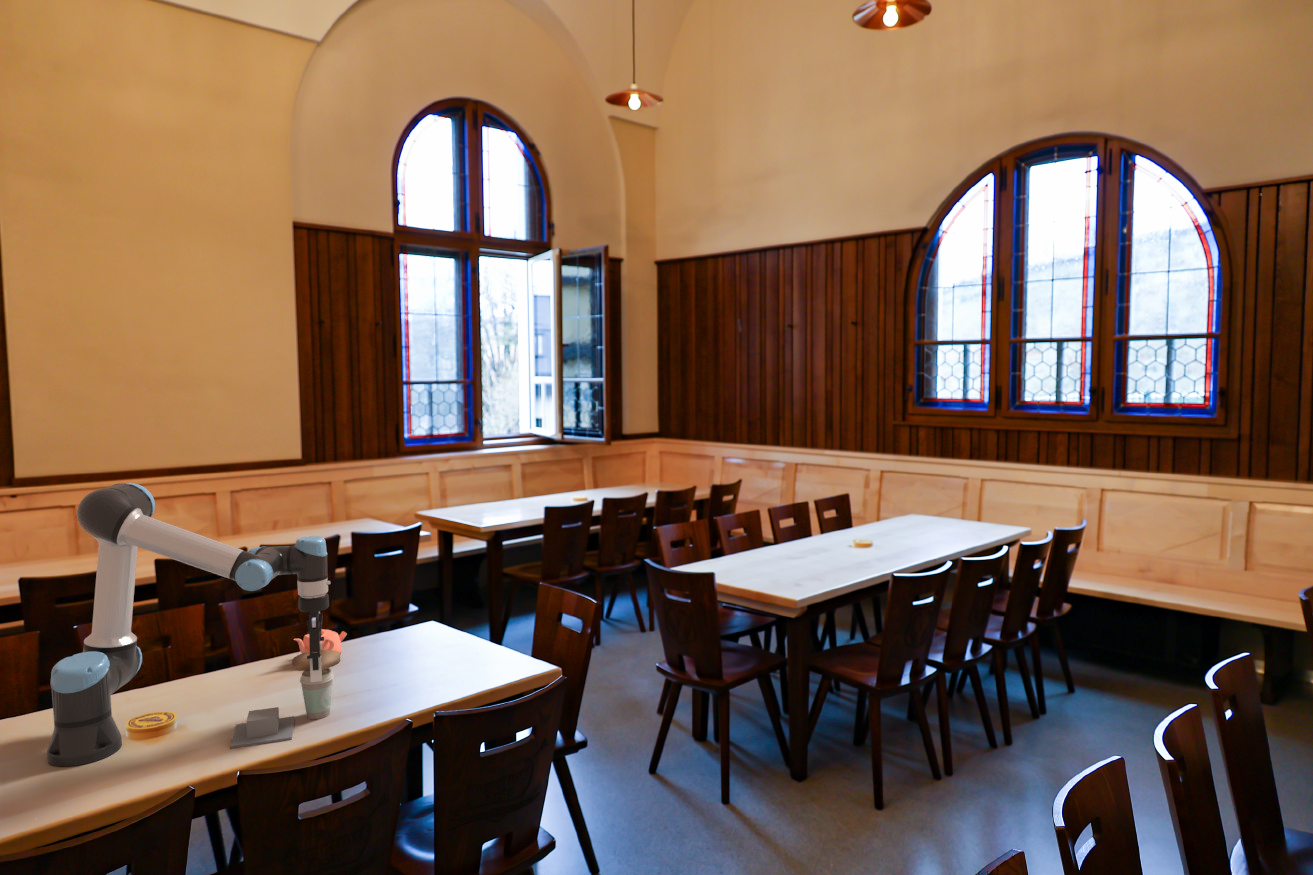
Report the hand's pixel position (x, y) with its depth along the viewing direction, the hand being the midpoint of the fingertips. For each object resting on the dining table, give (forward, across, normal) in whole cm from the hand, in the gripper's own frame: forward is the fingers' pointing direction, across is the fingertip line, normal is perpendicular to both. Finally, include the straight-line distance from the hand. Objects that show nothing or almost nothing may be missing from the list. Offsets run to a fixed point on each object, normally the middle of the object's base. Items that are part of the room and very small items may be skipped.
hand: (316, 673), depth 225 cm
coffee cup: (+12, 0, 0) cm, 12 cm away
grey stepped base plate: (+12, -7, +13) cm, 19 cm away
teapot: (+12, +46, 0) cm, 47 cm away
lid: (-3, 0, 0) cm, 3 cm away
